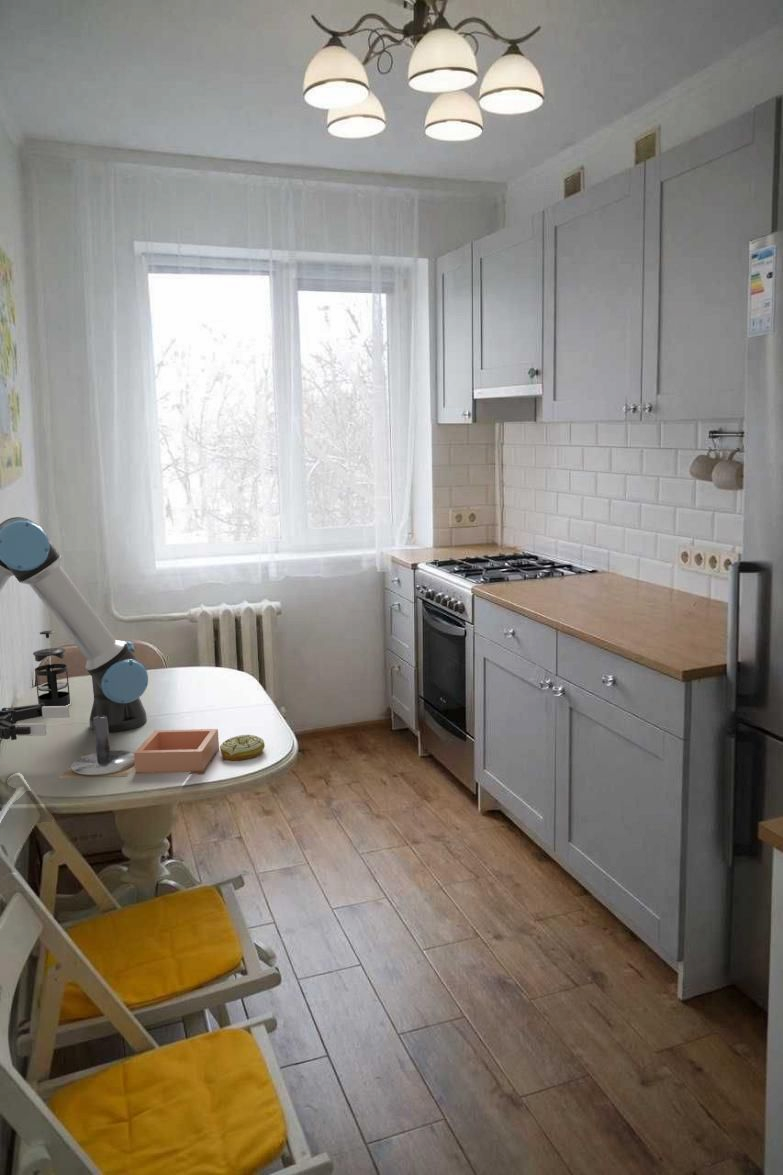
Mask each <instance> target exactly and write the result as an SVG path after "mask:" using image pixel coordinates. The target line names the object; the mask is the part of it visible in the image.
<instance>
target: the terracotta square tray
mask: <svg viewBox="0 0 783 1175" xmlns="http://www.w3.org/2000/svg"><path fill="white" fill-rule="evenodd" d="M219 739H220V738H219V729H218V728H206V729H205V728H203V729H202V728H201V729H197V728H196V729H193V728H192V729H166V730H165V729H164V730H162V729H160V730H156V729H155V730H153V731H152V732H151V734H150V735H149V736H148V737H147V738H146V739H144V741H143V742H142V743H141V744H140V745H139V747H138V748H137V749H136V750H135V751H133V752H134V760H135V767H134V769H135V774H152V773H153V774H154V773H156V774H157V773H166V774H167V773H189V775H204V774H205V772H207V770H208V768H209V766H210V765H211V763H212V762H213V760H214V759H215V757H216V756H217V754H218V753H219V751H220V741H219Z"/></svg>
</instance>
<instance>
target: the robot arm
mask: <svg viewBox="0 0 783 1175" xmlns="http://www.w3.org/2000/svg"><path fill="white" fill-rule="evenodd" d="M61 558H62V555H61V553H59V551H58V550H57V548H56V547H55V546H54V544H53V543H52V541H51V540H50V539H49V537H48V534H47V532H46V531H45V530H44V529H43V528H42V527H41V526H40V525H39V524H37V523H36V522H34V521H32V520H31V519H28V518H25V517H20V516H16V517H15V516H14V517H10V518H7V519H5V520H4V521H2V522H1V523H0V592H1V591H2V589H3V588H4V587H5V585H6V584H7V583H8V580H9V579H10V578H11V577H12V576H14V577H15V579H16V581H18V582H19V584H25V585H29V586H30V587H31V589H32V590H33V591H34V593H35V594H36V595H37V596H38V598H39V600H41V602H42V603H43V605H44V606H45V607H46V608H47V610H48V611H49V612H50V614H51V615H52V616H53V618H55V620H56V621H57V623H58V624H59V625H60V627H61V628H62V629H63V631H64V632H65V633H66V635H67V636H68V637H69V638H70V640H71V641H72V642H73V644H74V645H75V646H76V647H77V649H78V650H79V652H80V653H81V654H82V655H83V656H84V658H85V659H86V664H85V669H86V671H87V672H88V674H89V675H90V676H91V681H92V693H93V704H92V707H91V712H90V716H89V719H88V720H89V729H90V730H92V731H94V723H93V718H94V717H96V716H101V715H105V716H107V721H108V731H109V733H117V731H118V732H123V731H129V730H132V729H136V728H139V727H141V726H142V725H145V723H147V721H148V718H147V711H146V710H145V707H144V705H143V703H142V700H141V698H140V697H141V696H143V694H144V693H145V691H146V690H147V687H148V684H149V676H148V675H149V674H148V670H147V669H146V667H145V665H144V664H143V663H141V661H139V659H138V658H137V657H136V656H135V646H134V642H132V641H129V640H118V639H116V638H115V637H114V635H113V634H112V633H111V631H109V629H108V628H107V627H106V625H105V624H104V622H103V621H102V620H101V618H100V617H99V616H98V614H97V613H96V611H95V610H94V609H93V608H92V605H91V604H90V603H89V602H88V600H87V599H86V598H85V597H84V596H83V594H82V592H81V591H80V590H79V589H78V587H77V586H76V585H75V583H74V582H73V581H72V579H71V578H70V577H69V575H68V574H67V573H66V571H65V570H64V568H63V567H62V565H61ZM70 713H71V712H70V706H45V705H44V703H40V704H38V703H37V704H29V705H23V706H22V705H21V706H15V707H14V706H13V707H2V708H1V709H0V739H2V740H3V739H4V740H9V739H11V741H14V740H15V741H16V740H17V738H18V737H23V736H24V737H26V736H27V737H28V736H29V737H31V736H32V737H33V736H34V737H35V736H36V737H38V736H42V737H43V736H47V733H48V732H47V723H45V722H44V723H43V722H42V723H41V722H39V723H36V722H35V723H32V722H31V723H26V722H25V723H18V722H22V721H26V720H31V719H36V718H40V717H42V719H56V718H58V719H68V718H70V717H71V714H70ZM17 736H18V737H17Z"/></svg>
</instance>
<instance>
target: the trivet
mask: <svg viewBox="0 0 783 1175" xmlns="http://www.w3.org/2000/svg"><path fill="white" fill-rule="evenodd" d="M131 752H132V751H131ZM134 752H135V751H133V752H132V753H134ZM90 754H93V753H90V752H89V753H83V754H82V755H81V756H80V757H79V758H81V757H84V756H86V755H90ZM134 769H135V765H134V766H132V767H131V768H129V769H127V770H124V771H121V772H118V773H114V774H110V775H103V776H81V775H77V774H75V773H73V772H72V767H71V766H70V767H68V768H67V769H66V770H65V772H63V773H62V774H61V775H60V776H58V779H72V778H73V779H76V778H77V779H79V778H81V779H83V778H119V777H121V778H123V777H128V776H129V775H130V773H131V772H132V771H133V770H134Z"/></svg>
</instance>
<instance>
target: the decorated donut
mask: <svg viewBox="0 0 783 1175" xmlns="http://www.w3.org/2000/svg"><path fill="white" fill-rule="evenodd" d="M265 746H266V745H265V741H264V739H263V738H262V737H260V736H257V735H253V734H242V735H241V734H240V735H237V736H232V737H230V738H228V739H226V740H225V741H223V742H222V743H221V744H220V745H219V751H220V755H221V756H222V758H223V759H225V760H231V761H235V760H236V761H242V760H249V759H252V758H256V757H258V756H259V755H260V754H262V753H263V751H264V750H265Z"/></svg>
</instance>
